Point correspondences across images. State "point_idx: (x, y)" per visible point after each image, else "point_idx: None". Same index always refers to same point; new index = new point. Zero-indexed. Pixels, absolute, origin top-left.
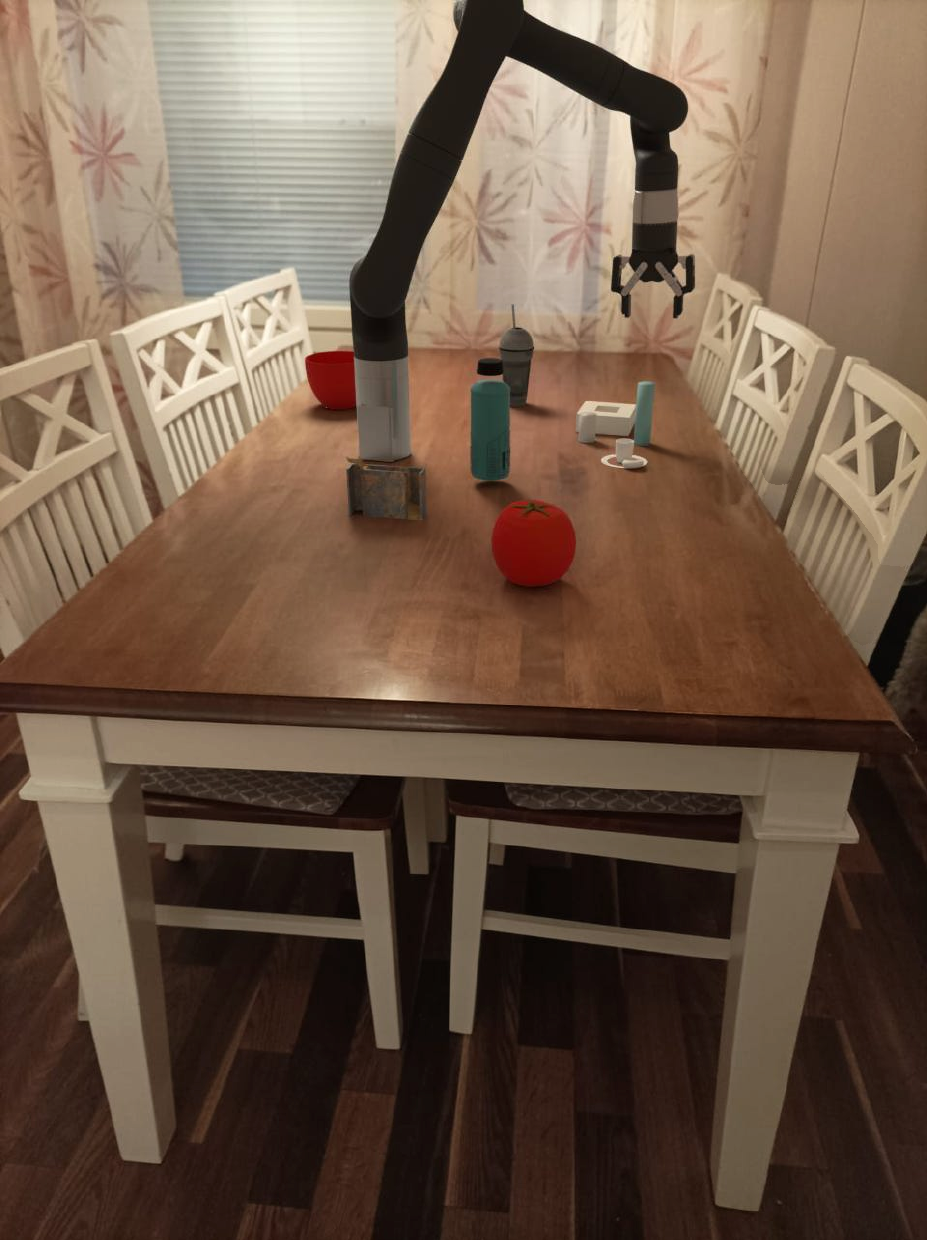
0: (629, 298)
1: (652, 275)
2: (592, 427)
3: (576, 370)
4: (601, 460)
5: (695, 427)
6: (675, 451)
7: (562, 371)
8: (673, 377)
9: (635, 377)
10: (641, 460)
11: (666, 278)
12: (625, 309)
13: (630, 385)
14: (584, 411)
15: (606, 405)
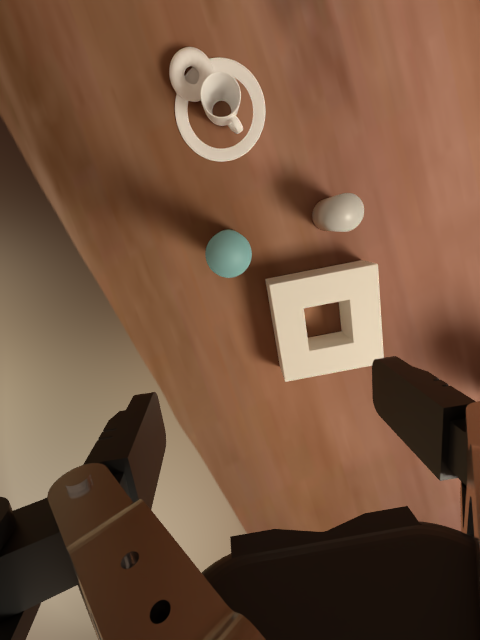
0: (430, 421)
1: (339, 589)
2: (323, 204)
3: None
4: (261, 90)
5: (176, 382)
6: (156, 226)
7: None
8: None
9: None
10: (173, 71)
11: (149, 556)
12: (410, 370)
13: None
14: (367, 289)
15: (337, 349)
